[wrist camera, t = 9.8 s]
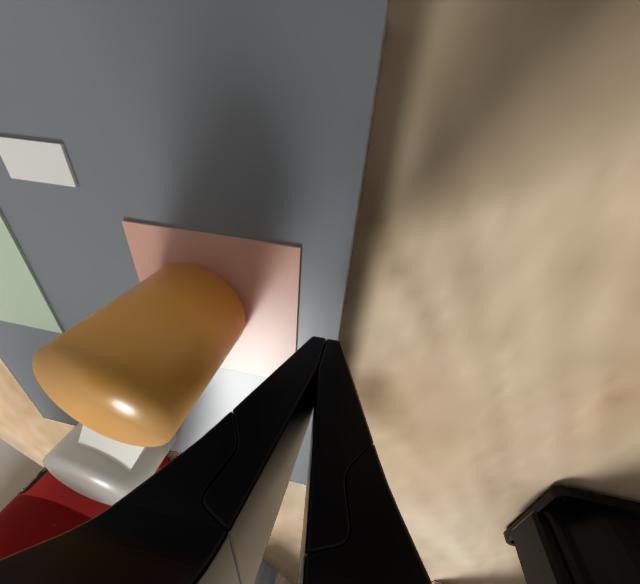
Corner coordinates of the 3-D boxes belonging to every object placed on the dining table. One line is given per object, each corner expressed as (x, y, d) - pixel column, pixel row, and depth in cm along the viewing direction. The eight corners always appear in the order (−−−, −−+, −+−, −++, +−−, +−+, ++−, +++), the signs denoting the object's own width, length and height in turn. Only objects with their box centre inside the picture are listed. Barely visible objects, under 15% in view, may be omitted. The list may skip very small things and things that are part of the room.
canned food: (69, 411, 21) (-185, 645, 11) (170, 440, 20) (-14, 715, 11) (97, 463, 25) (-72, 667, 16) (182, 489, 24) (57, 718, 15)
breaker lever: (164, 456, 17) (109, 540, 13) (95, 420, 16) (19, 498, 13) (272, 311, 9) (211, 415, 6) (154, 234, 9) (13, 303, 5)
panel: (387, 18, 7) (389, -9, 5) (320, 459, 17) (315, 489, 16) (-196, -11, 9) (-305, -36, 8) (60, 395, 20) (35, 417, 18)
